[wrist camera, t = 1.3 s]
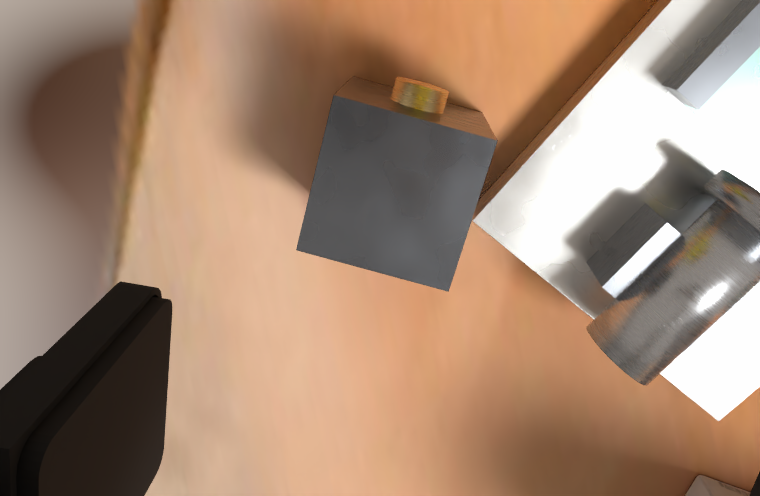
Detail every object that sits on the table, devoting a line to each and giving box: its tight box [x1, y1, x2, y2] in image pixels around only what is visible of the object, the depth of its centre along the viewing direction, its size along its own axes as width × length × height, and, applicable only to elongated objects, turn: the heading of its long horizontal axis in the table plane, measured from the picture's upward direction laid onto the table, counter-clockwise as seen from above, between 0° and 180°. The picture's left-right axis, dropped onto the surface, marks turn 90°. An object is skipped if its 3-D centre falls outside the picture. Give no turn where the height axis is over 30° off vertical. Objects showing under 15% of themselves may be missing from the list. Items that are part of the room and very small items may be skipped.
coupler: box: [296, 76, 497, 291], centre depth 25 cm, size 6×5×6 cm
